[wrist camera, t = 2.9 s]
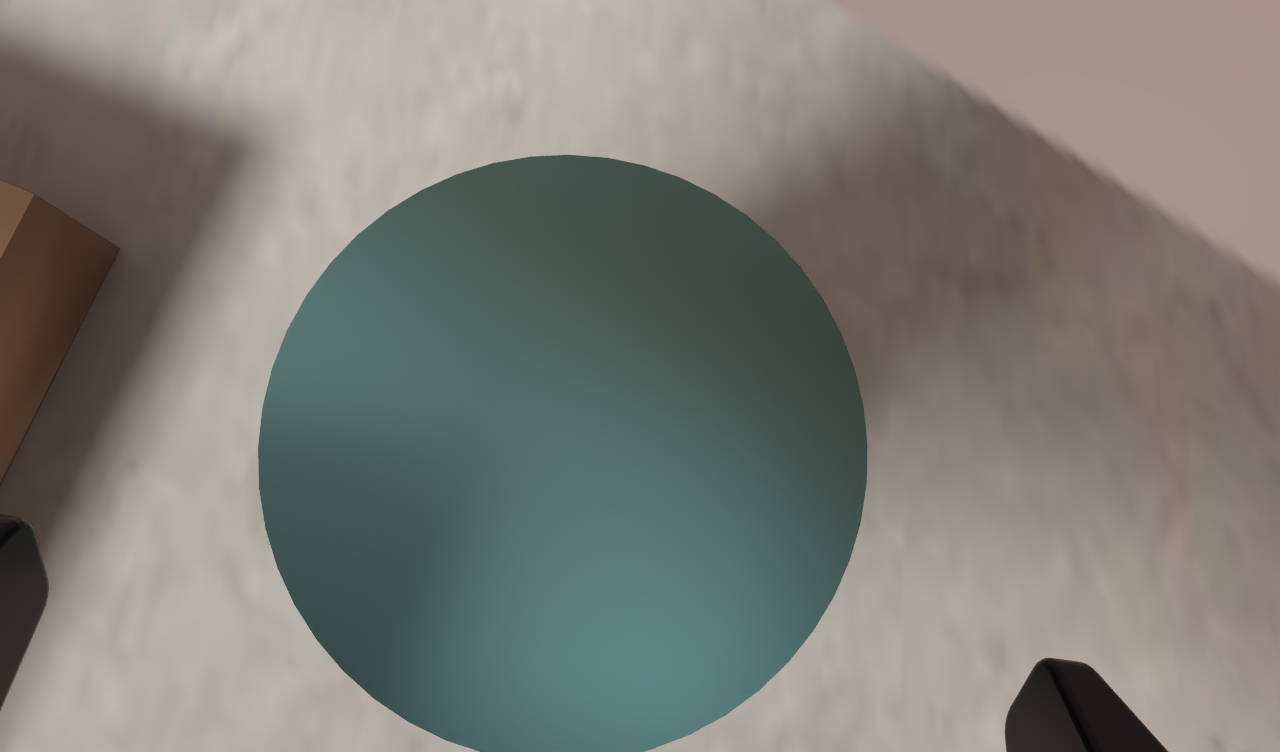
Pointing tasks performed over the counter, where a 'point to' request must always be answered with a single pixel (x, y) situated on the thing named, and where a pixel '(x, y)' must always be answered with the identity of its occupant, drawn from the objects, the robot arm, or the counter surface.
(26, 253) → the walnut socket block
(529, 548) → the teal peg
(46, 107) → the counter surface
